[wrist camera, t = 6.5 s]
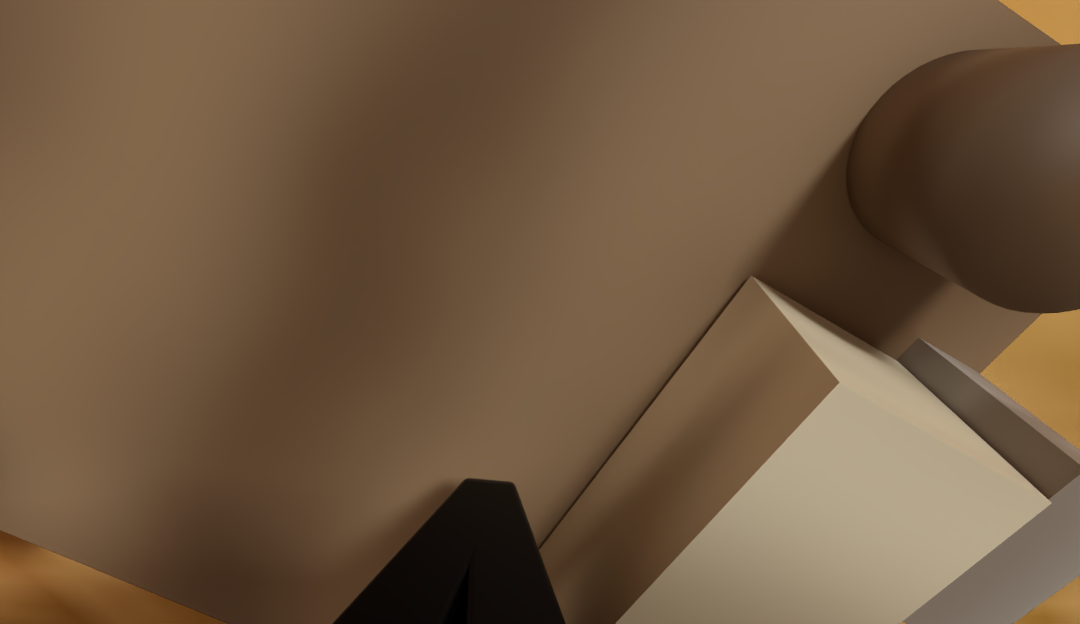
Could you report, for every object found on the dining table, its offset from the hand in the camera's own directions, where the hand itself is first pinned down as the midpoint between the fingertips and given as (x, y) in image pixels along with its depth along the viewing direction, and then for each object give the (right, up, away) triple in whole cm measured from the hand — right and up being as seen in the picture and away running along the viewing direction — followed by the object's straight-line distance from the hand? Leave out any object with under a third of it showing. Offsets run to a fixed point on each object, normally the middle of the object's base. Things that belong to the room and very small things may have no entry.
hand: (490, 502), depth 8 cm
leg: (+3, -1, +1) cm, 3 cm away
